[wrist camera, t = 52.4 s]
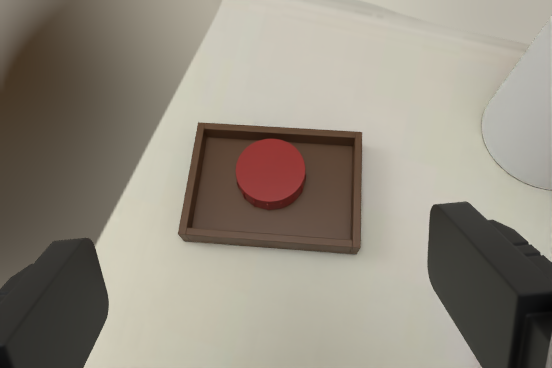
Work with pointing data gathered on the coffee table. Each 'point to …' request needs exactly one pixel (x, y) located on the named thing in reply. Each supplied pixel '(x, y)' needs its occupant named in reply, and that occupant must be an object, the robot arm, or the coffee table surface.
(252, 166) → the lid
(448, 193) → the coffee table surface
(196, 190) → the tray
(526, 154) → the tall pillar cylinder
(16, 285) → the robot arm
